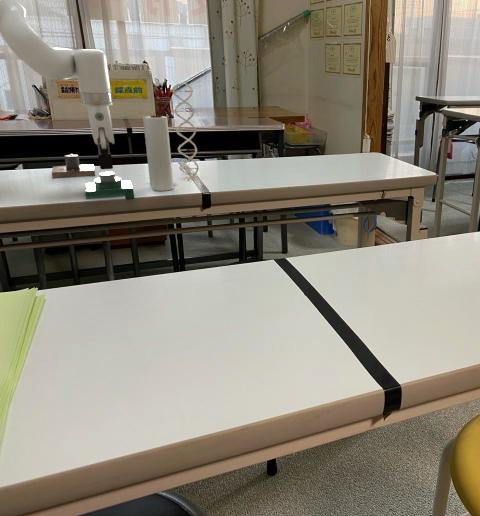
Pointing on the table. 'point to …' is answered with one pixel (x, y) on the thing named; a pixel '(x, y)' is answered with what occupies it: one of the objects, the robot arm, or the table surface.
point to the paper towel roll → (158, 152)
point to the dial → (72, 161)
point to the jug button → (107, 176)
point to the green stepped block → (109, 189)
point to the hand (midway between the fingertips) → (106, 168)
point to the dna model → (188, 130)
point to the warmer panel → (73, 171)
